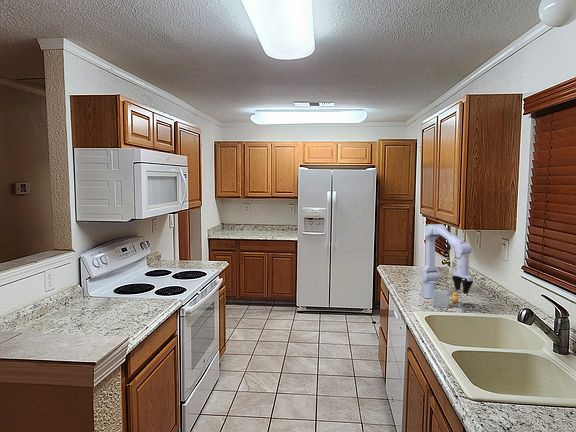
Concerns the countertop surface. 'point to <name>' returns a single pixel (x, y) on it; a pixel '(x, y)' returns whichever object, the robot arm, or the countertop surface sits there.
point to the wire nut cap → (455, 298)
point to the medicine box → (440, 298)
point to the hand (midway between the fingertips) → (461, 291)
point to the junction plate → (468, 307)
